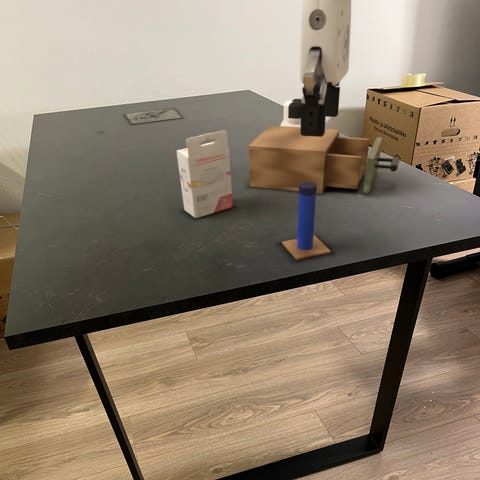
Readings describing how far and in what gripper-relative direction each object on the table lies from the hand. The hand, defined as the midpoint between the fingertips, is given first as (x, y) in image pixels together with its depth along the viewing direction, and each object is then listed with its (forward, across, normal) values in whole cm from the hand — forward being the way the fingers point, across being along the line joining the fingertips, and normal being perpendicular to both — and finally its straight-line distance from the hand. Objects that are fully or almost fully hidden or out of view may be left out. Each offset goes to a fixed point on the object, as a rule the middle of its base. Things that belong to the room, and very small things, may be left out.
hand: (320, 125), depth 67 cm
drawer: (+19, +29, -1) cm, 34 cm away
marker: (+19, -1, +1) cm, 19 cm away
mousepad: (+19, +64, +70) cm, 97 cm away
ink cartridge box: (+19, +9, +23) cm, 31 cm away
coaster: (+19, -1, +1) cm, 19 cm away
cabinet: (+19, +29, +11) cm, 36 cm away
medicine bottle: (+20, +45, +15) cm, 51 cm away
